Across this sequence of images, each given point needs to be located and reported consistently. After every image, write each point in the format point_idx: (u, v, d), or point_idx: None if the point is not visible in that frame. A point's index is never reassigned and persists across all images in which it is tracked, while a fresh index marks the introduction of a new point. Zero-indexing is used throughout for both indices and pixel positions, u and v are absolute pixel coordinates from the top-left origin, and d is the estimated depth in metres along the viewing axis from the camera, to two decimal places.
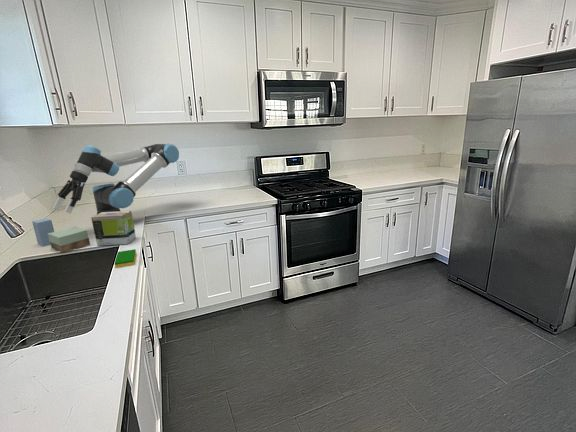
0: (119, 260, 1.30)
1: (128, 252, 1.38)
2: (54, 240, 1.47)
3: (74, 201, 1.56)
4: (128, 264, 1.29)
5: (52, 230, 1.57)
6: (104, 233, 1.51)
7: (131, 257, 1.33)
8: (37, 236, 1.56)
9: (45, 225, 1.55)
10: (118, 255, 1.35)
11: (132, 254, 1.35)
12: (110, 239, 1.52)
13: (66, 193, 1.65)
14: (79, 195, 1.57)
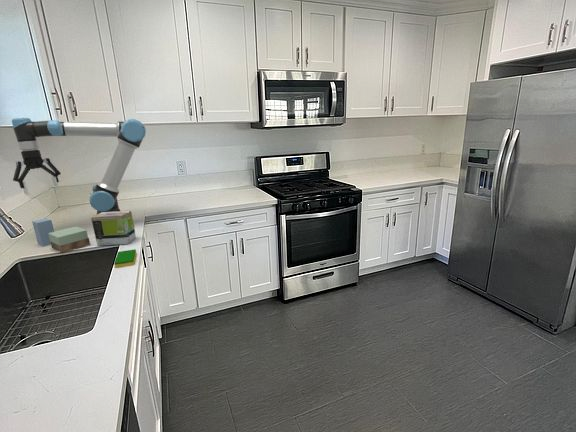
0: (118, 260, 1.30)
1: (128, 252, 1.38)
2: (54, 240, 1.48)
3: (19, 183, 1.56)
4: (128, 264, 1.29)
5: (52, 230, 1.57)
6: (104, 233, 1.51)
7: (131, 257, 1.33)
8: (37, 236, 1.56)
9: (45, 225, 1.55)
10: (118, 255, 1.35)
11: (132, 254, 1.35)
12: (110, 239, 1.52)
13: (48, 172, 1.66)
14: (15, 176, 1.54)
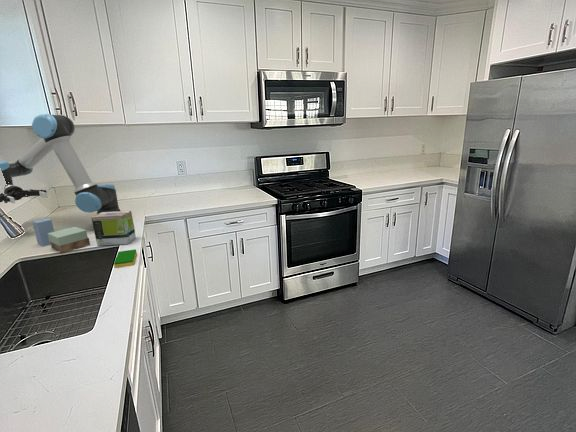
0: (118, 260, 1.30)
1: (128, 252, 1.38)
2: (53, 240, 1.48)
3: (4, 199, 1.54)
4: (127, 264, 1.29)
5: (52, 230, 1.57)
6: (104, 233, 1.51)
7: (131, 257, 1.32)
8: (37, 236, 1.56)
9: (45, 225, 1.55)
10: (118, 255, 1.35)
11: (132, 254, 1.35)
12: (110, 239, 1.52)
13: (34, 193, 1.67)
14: None
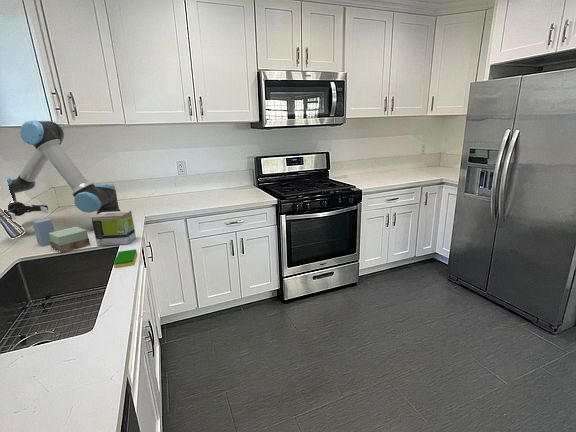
0: (118, 260, 1.30)
1: (128, 252, 1.38)
2: (54, 240, 1.48)
3: None
4: (127, 264, 1.29)
5: (52, 230, 1.57)
6: (104, 233, 1.51)
7: (131, 257, 1.32)
8: (37, 236, 1.56)
9: (45, 225, 1.55)
10: (118, 255, 1.35)
11: (132, 254, 1.35)
12: (110, 239, 1.52)
13: (35, 208, 1.69)
14: None
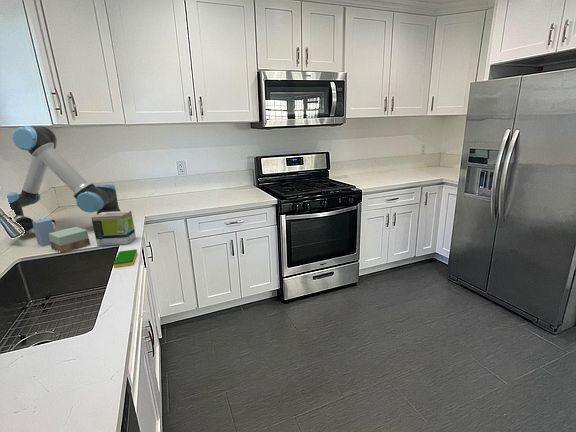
0: (118, 260, 1.30)
1: (129, 252, 1.38)
2: (54, 240, 1.48)
3: None
4: (127, 264, 1.29)
5: (52, 230, 1.57)
6: (104, 233, 1.51)
7: (130, 257, 1.32)
8: (37, 236, 1.56)
9: (45, 225, 1.55)
10: (118, 255, 1.35)
11: (132, 254, 1.35)
12: (110, 239, 1.52)
13: None
14: None
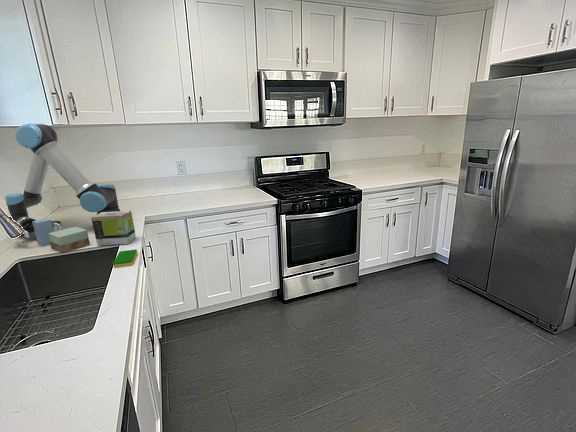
0: (118, 260, 1.30)
1: (129, 252, 1.38)
2: (54, 240, 1.48)
3: None
4: (126, 264, 1.29)
5: (52, 230, 1.57)
6: (104, 233, 1.51)
7: (130, 257, 1.32)
8: (37, 236, 1.56)
9: (45, 225, 1.55)
10: (118, 255, 1.35)
11: (132, 255, 1.35)
12: (110, 239, 1.52)
13: None
14: None
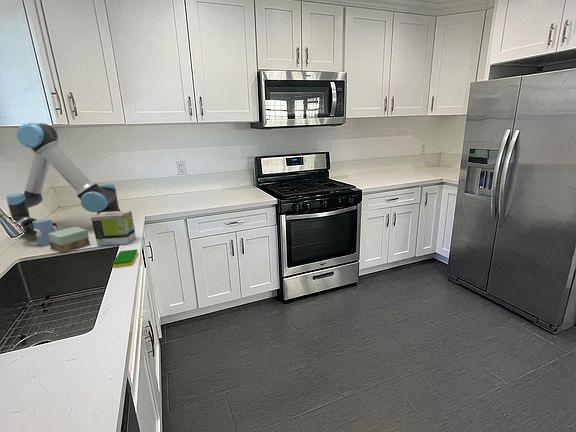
0: (117, 260, 1.30)
1: (129, 252, 1.38)
2: (54, 240, 1.48)
3: (31, 232, 1.54)
4: (126, 264, 1.29)
5: (52, 230, 1.57)
6: (104, 233, 1.51)
7: (130, 257, 1.32)
8: (37, 236, 1.56)
9: (45, 225, 1.55)
10: (119, 255, 1.36)
11: (132, 255, 1.35)
12: (110, 239, 1.52)
13: None
14: None
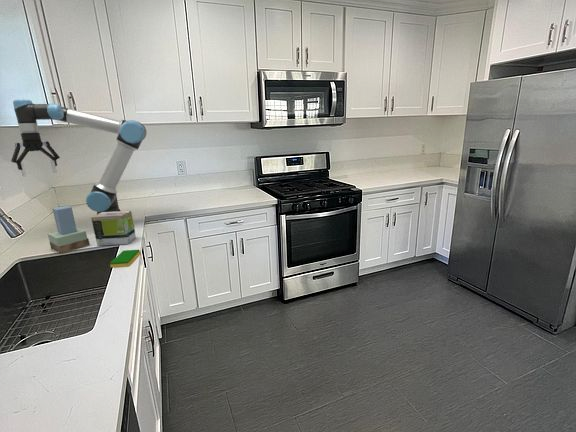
0: (116, 259, 1.30)
1: (130, 252, 1.38)
2: (53, 241, 1.47)
3: (17, 164, 1.57)
4: (122, 265, 1.28)
5: (72, 218, 1.49)
6: (104, 233, 1.51)
7: (128, 258, 1.32)
8: (57, 224, 1.48)
9: (65, 213, 1.47)
10: (120, 254, 1.36)
11: (131, 255, 1.35)
12: (110, 239, 1.52)
13: (47, 155, 1.67)
14: (13, 157, 1.55)
